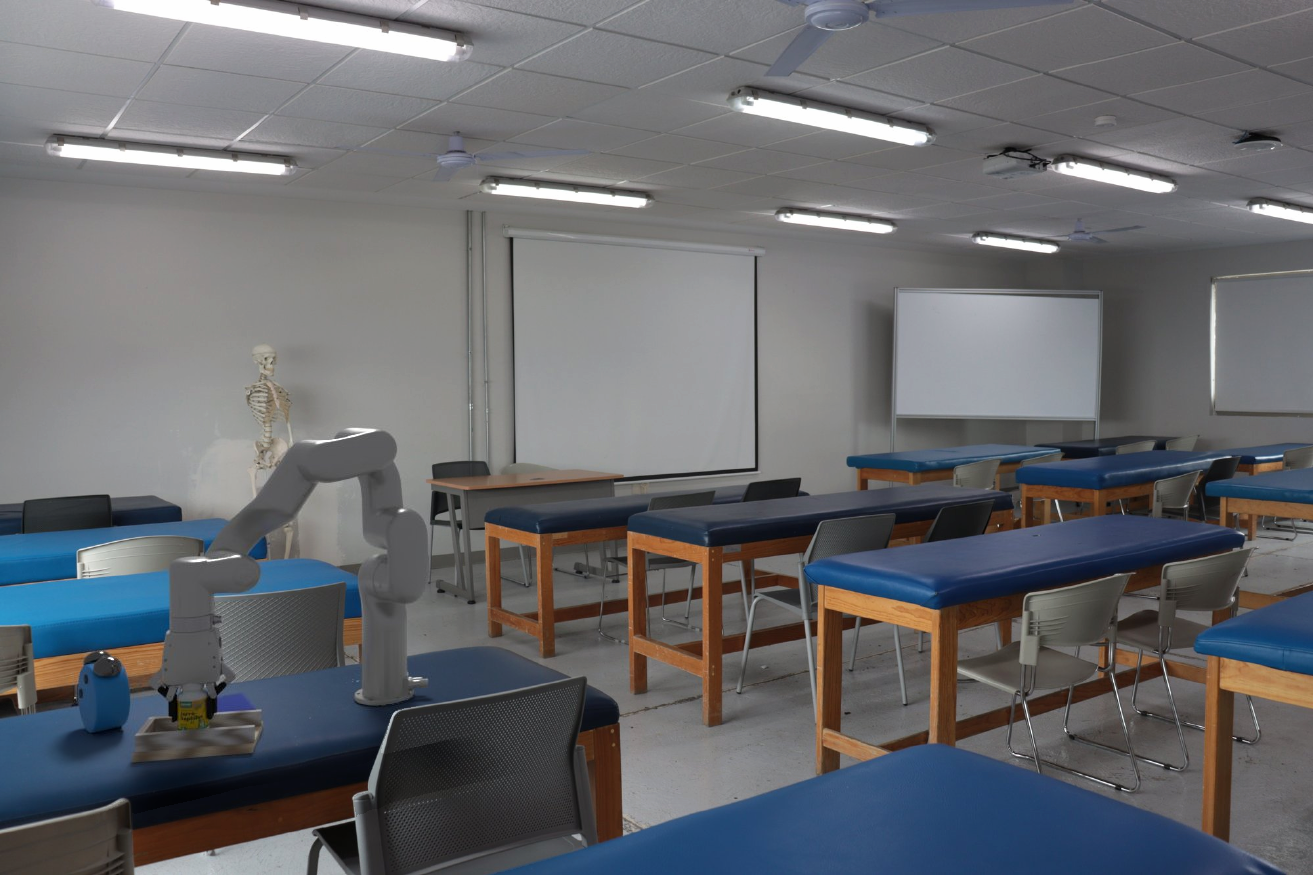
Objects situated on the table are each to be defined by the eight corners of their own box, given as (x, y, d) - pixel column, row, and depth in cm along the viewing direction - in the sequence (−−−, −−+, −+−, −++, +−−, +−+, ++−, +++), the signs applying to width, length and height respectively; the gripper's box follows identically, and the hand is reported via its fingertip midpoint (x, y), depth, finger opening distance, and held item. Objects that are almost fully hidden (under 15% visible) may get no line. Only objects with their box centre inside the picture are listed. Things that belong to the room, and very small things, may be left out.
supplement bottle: (210, 724, 180) (210, 675, 180) (207, 734, 175) (207, 683, 175) (179, 727, 178) (178, 677, 178) (175, 737, 173) (175, 686, 173)
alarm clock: (131, 734, 182) (130, 657, 181) (95, 741, 177) (94, 663, 177) (110, 717, 191) (110, 644, 190) (76, 724, 187) (75, 650, 186)
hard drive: (202, 698, 201) (213, 715, 190) (243, 692, 205) (256, 707, 195) (203, 705, 201) (213, 722, 190) (243, 699, 205) (256, 715, 195)
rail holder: (263, 727, 186) (263, 706, 186) (252, 752, 173) (252, 730, 173) (151, 735, 181) (151, 714, 181) (132, 762, 168) (131, 739, 167)
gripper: (244, 616, 182) (245, 708, 182) (146, 621, 177) (147, 715, 178) (238, 625, 174) (239, 721, 175) (136, 630, 170) (137, 729, 171)
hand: (193, 717), depth 176 cm, fingers closed on supplement bottle, 5 cm apart
